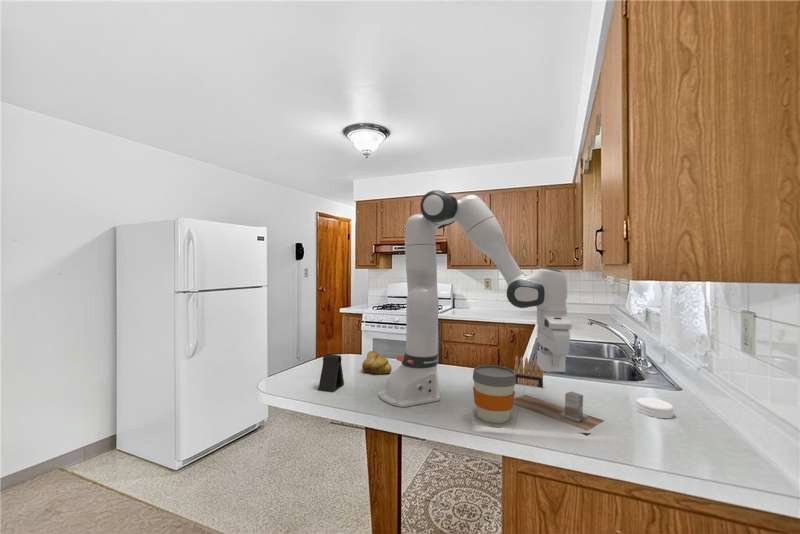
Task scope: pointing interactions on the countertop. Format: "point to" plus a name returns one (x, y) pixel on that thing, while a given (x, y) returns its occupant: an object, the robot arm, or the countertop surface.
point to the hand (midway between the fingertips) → (551, 363)
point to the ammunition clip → (532, 378)
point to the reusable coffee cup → (494, 392)
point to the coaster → (654, 407)
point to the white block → (549, 361)
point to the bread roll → (376, 364)
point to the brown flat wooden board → (561, 410)
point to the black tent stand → (331, 373)
